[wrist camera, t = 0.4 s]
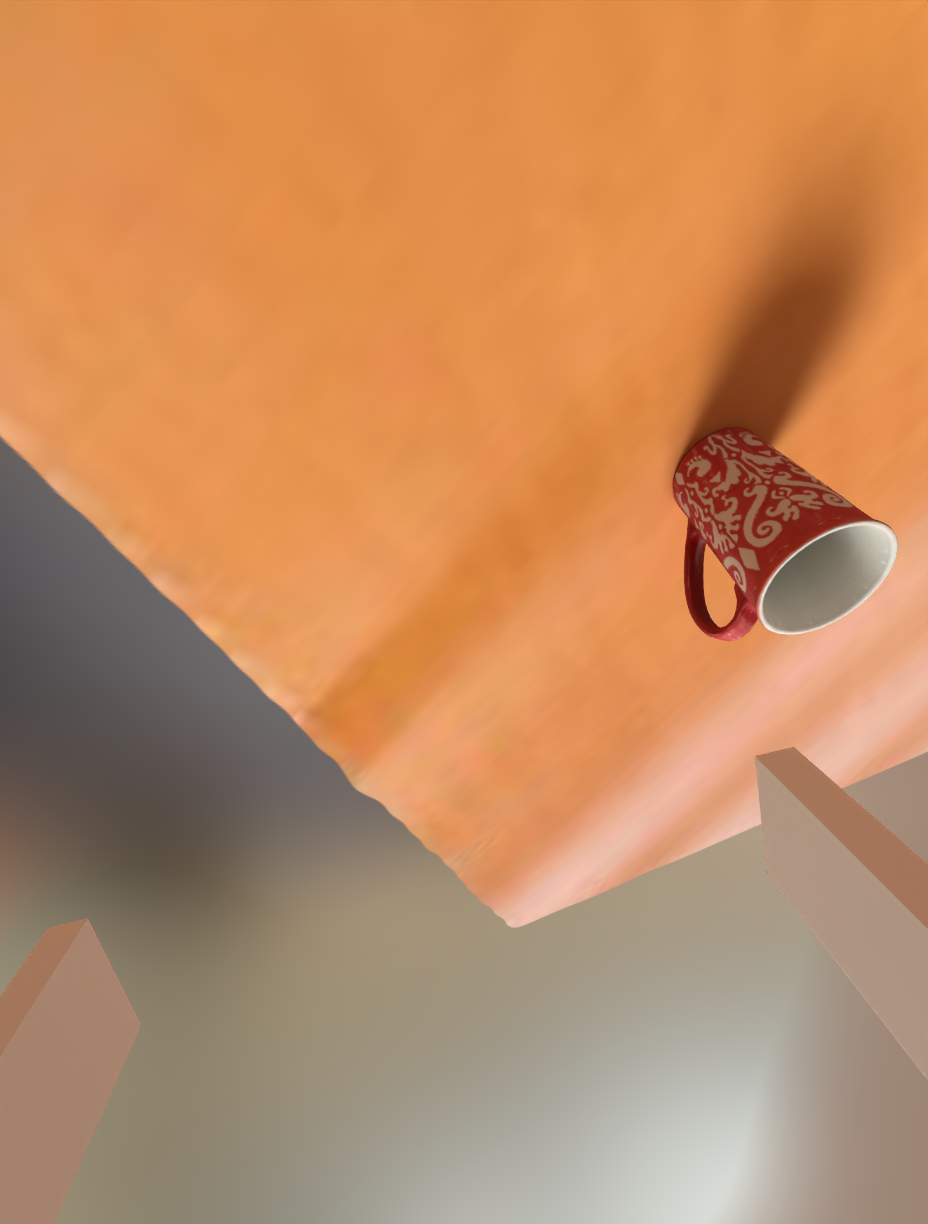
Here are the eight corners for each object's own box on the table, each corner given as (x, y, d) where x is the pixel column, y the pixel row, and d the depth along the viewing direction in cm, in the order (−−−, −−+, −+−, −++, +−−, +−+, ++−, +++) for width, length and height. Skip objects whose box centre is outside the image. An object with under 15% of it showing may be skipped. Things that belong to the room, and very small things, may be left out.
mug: (726, 391, 45) (854, 498, 36) (795, 446, 50) (924, 554, 40) (605, 527, 51) (687, 651, 42) (677, 565, 56) (765, 684, 46)
